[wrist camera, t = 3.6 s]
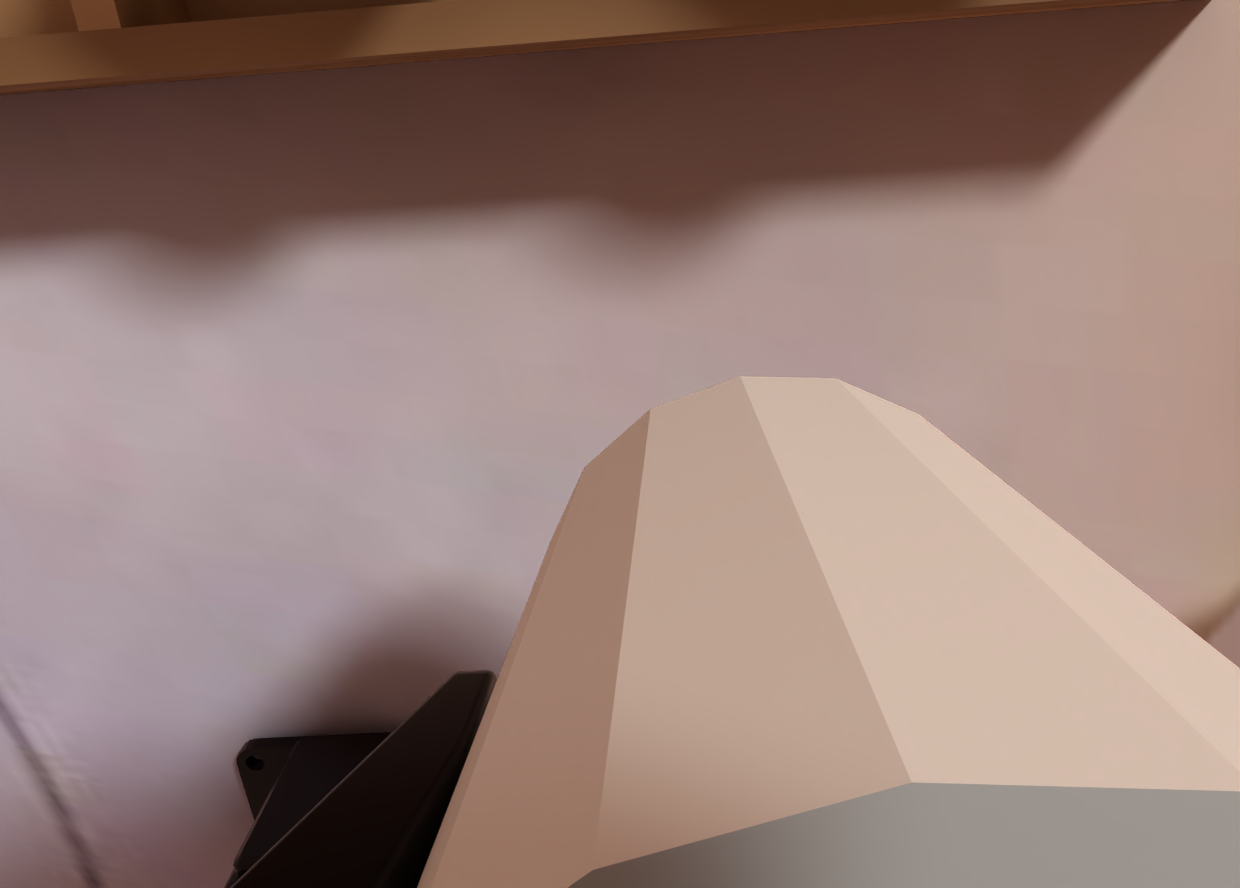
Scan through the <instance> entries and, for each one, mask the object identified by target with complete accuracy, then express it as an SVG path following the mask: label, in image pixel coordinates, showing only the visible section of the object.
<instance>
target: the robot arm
mask: <svg viewBox="0 0 1240 888" xmlns="http://www.w3.org/2000/svg"><path fill="white" fill-rule="evenodd" d="M496 681H497V678H496V676H495V674H494V673H493V672H492V671H490V670H477V671H460V672H457V673H455V674H453V675H452V676H451V677H450V678H449V679H448V680H447V681H446V682H445V683H444V684H443V685H441V686H440V687H439V688H438V689H437V690H436V691H435V692H434V693H433V694H432V695H431V696H430V697H429V698H428V699H427V700H426V701H425V702H424V703H423V704H422V705H421V706H420V707H418V708H417V709H416V710H415V711H414V712H413V713H412V714H411V715H410V716H409V717H408V718H407V719H406V720H405V721H404V722H403V723H402V724H401V725H400V726H399V727H398V728H397V729H395V730H394V731H393V732H392V733H371V734H348V735H326V736H303V737H281V738H259V739H252V740H249V741H248V742H247V743H245V745H244V746H243V748H242V750H241V751H240V753H239V755H238V757H237V766H238V769H239V772H240V775H241V779H242V782H243V785H244V788H245V791H246V795H247V798H248V801H249V804H250V808H251V811H252V814H253V817H254V820H255V821H254V823H253V825H252V827H251V829H250V831H249V833H248V835H247V837H246V839H245V840H244V842H243V844H242V846H241V848H240V850H239V852H238V854H237V856H236V858H235V860H234V870H233V872H232V873H231V875H230V877H229V879H228V881H227V883H226V885H225V887H224V888H417V886H418V884H419V881H420V878H421V876H422V873H423V871H424V868H425V865H426V863H427V860H428V858H429V855H430V852H431V850H432V847H433V845H434V842H435V840H436V837H437V834H438V832H439V829H440V827H441V824H442V821H443V819H444V816H445V814H446V811H447V808H448V806H449V803H450V801H451V798H452V795H453V793H454V790H455V788H456V785H457V783H458V780H459V777H460V775H461V772H462V770H463V767H464V764H465V762H466V759H467V757H468V754H469V751H470V749H471V746H472V744H473V741H474V738H475V736H476V733H477V731H478V728H479V726H480V723H481V720H482V718H483V715H484V713H485V710H486V707H487V705H488V702H489V700H490V697H491V694H492V692H493V689H494V687H495V684H496ZM254 756H257V757H259V758H261V759H262V760H259V759H257V758H255V757H254Z"/></svg>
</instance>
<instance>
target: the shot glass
mask: <svg viewBox="0 0 1240 888" xmlns="http://www.w3.org/2000/svg"><path fill="white" fill-rule="evenodd" d="M417 888H1240V668H1239V667H1238V666H1236V665H1235V664H1234V663H1232V662H1231V661H1230V660H1229V659H1227V658H1226V657H1225V656H1224V655H1222V654H1221V653H1220V652H1219V651H1217V650H1216V649H1215V648H1214V647H1212V646H1211V645H1210V644H1208V643H1207V642H1206V641H1205V640H1203V639H1202V638H1201V637H1200V636H1198V635H1197V634H1196V633H1195V632H1193V631H1192V630H1191V629H1190V628H1188V627H1187V626H1186V625H1184V624H1183V623H1182V622H1181V621H1179V620H1178V619H1177V618H1176V617H1174V616H1173V615H1172V614H1171V613H1169V612H1168V611H1167V610H1165V609H1164V608H1163V607H1162V606H1160V605H1159V604H1158V603H1157V602H1155V601H1154V600H1153V599H1152V598H1150V597H1149V596H1148V595H1147V594H1145V593H1144V592H1143V591H1141V590H1140V589H1139V588H1138V587H1136V586H1135V585H1134V584H1133V583H1131V582H1130V581H1129V580H1128V579H1126V578H1125V577H1124V576H1123V575H1121V574H1120V573H1119V572H1117V571H1116V570H1115V569H1114V568H1112V567H1111V566H1110V565H1109V564H1107V563H1106V562H1105V561H1104V560H1102V559H1101V558H1100V557H1098V556H1097V555H1096V554H1095V553H1093V552H1092V551H1091V550H1090V549H1088V548H1087V547H1086V546H1085V545H1083V544H1082V543H1081V542H1080V541H1078V540H1077V539H1076V538H1074V537H1073V536H1072V535H1071V534H1069V533H1068V532H1067V531H1066V530H1064V529H1063V528H1062V527H1061V526H1059V525H1058V524H1057V523H1056V522H1054V521H1053V520H1052V519H1050V518H1049V517H1048V516H1047V515H1045V514H1044V513H1043V512H1042V511H1040V510H1039V509H1038V508H1037V507H1035V506H1034V505H1033V504H1032V503H1030V502H1029V501H1028V500H1026V499H1025V498H1024V497H1023V496H1021V495H1020V494H1019V493H1018V492H1016V491H1015V490H1014V489H1013V488H1011V487H1010V486H1009V485H1007V484H1006V483H1005V482H1004V481H1002V480H1001V479H1000V478H999V477H997V476H996V475H995V474H994V473H992V472H991V471H990V470H989V469H987V468H986V467H985V466H983V465H982V464H981V463H980V462H978V461H977V460H976V459H975V458H973V457H972V456H971V455H970V454H968V453H967V452H966V451H965V450H963V449H962V448H961V447H959V446H958V445H957V444H956V443H954V442H953V441H952V440H951V439H949V438H948V437H947V436H946V435H944V434H943V433H942V432H940V431H939V430H938V429H937V428H935V427H934V426H933V425H932V424H930V423H929V422H928V421H927V420H925V419H924V418H923V417H922V416H920V415H919V414H917V413H914V412H912V411H910V410H907V409H905V408H903V407H901V406H898V405H896V404H894V403H891V402H889V401H887V400H884V399H882V398H880V397H878V396H875V395H873V394H871V393H868V392H866V391H864V390H861V389H859V388H857V387H855V386H852V385H850V384H848V383H845V382H843V381H841V380H838V379H836V378H794V377H747V376H740V377H737V378H734V379H731V380H729V381H726V382H723V383H720V384H718V385H715V386H712V387H709V388H707V389H704V390H701V391H698V392H695V393H693V394H690V395H687V396H684V397H682V398H679V399H676V400H673V401H671V402H668V403H665V404H662V405H660V406H657V407H654V408H651V409H650V410H649V411H648V412H646V413H645V414H644V415H643V416H642V417H641V418H640V419H639V420H637V421H636V422H635V423H634V424H633V425H632V426H631V427H630V428H628V429H627V430H626V431H625V432H624V433H623V434H622V435H621V436H619V437H618V438H617V439H616V440H615V441H614V442H613V443H612V444H610V445H609V446H608V447H607V448H606V449H605V450H604V451H603V452H601V453H600V454H599V455H598V456H597V457H596V458H595V459H594V460H592V461H591V462H590V463H589V464H588V465H587V466H586V467H585V468H584V470H583V472H582V474H581V476H580V478H579V480H578V483H577V485H576V487H575V489H574V491H573V494H572V496H571V498H570V500H569V502H568V504H567V507H566V509H565V511H564V513H563V515H562V518H561V520H560V522H559V524H558V526H557V528H556V531H555V533H554V535H553V537H552V539H551V542H550V544H549V547H548V549H547V552H546V555H545V557H544V560H543V562H542V565H541V568H540V570H539V573H538V575H537V578H536V580H535V583H534V586H533V588H532V591H531V593H530V596H529V599H528V601H527V604H526V606H525V609H524V612H523V614H522V617H521V619H520V622H519V625H518V627H517V630H516V632H515V635H514V637H513V640H512V643H511V645H510V648H509V650H508V653H507V656H506V658H505V661H504V663H503V666H502V669H501V671H500V674H499V676H498V679H497V681H496V684H495V687H494V689H493V692H492V694H491V697H490V700H489V702H488V705H487V707H486V710H485V713H484V715H483V718H482V720H481V723H480V726H479V728H478V731H477V733H476V736H475V738H474V741H473V744H472V746H471V749H470V751H469V754H468V757H467V759H466V762H465V764H464V767H463V770H462V772H461V775H460V777H459V780H458V783H457V785H456V788H455V790H454V793H453V795H452V798H451V801H450V803H449V806H448V808H447V811H446V814H445V816H444V819H443V821H442V824H441V827H440V829H439V832H438V834H437V837H436V840H435V842H434V845H433V847H432V850H431V852H430V855H429V858H428V860H427V863H426V865H425V868H424V871H423V873H422V876H421V878H420V881H419V884H418V886H417Z"/></svg>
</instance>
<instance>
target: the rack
mask: <svg viewBox="0 0 1240 888" xmlns="http://www.w3.org/2000/svg"><path fill="white" fill-rule="evenodd" d="M1166 1H1179V0H0V95H5V94H17V93H30V92H42V91H55V90H67V89H80V88H92V87H105V86H117V85H130V84H142V83H155V82H167V81H180V80H192V79H205V78H217V77H230V76H242V75H255V74H267V73H280V72H292V71H305V70H317V69H330V68H342V67H355V66H367V65H380V64H392V63H404V62H417V61H429V60H442V59H454V58H467V57H479V56H492V55H504V54H517V53H529V52H542V51H554V50H567V49H579V48H592V47H604V46H617V45H629V44H642V43H654V42H667V41H679V40H692V39H704V38H717V37H729V36H742V35H754V34H767V33H779V32H792V31H804V30H817V29H829V28H842V27H854V26H867V25H879V24H892V23H904V22H917V21H929V20H942V19H954V18H967V17H979V16H992V15H1004V14H1017V13H1029V12H1042V11H1054V10H1066V9H1079V8H1091V7H1104V6H1116V5H1129V4H1141V3H1154V2H1166Z"/></svg>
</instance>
